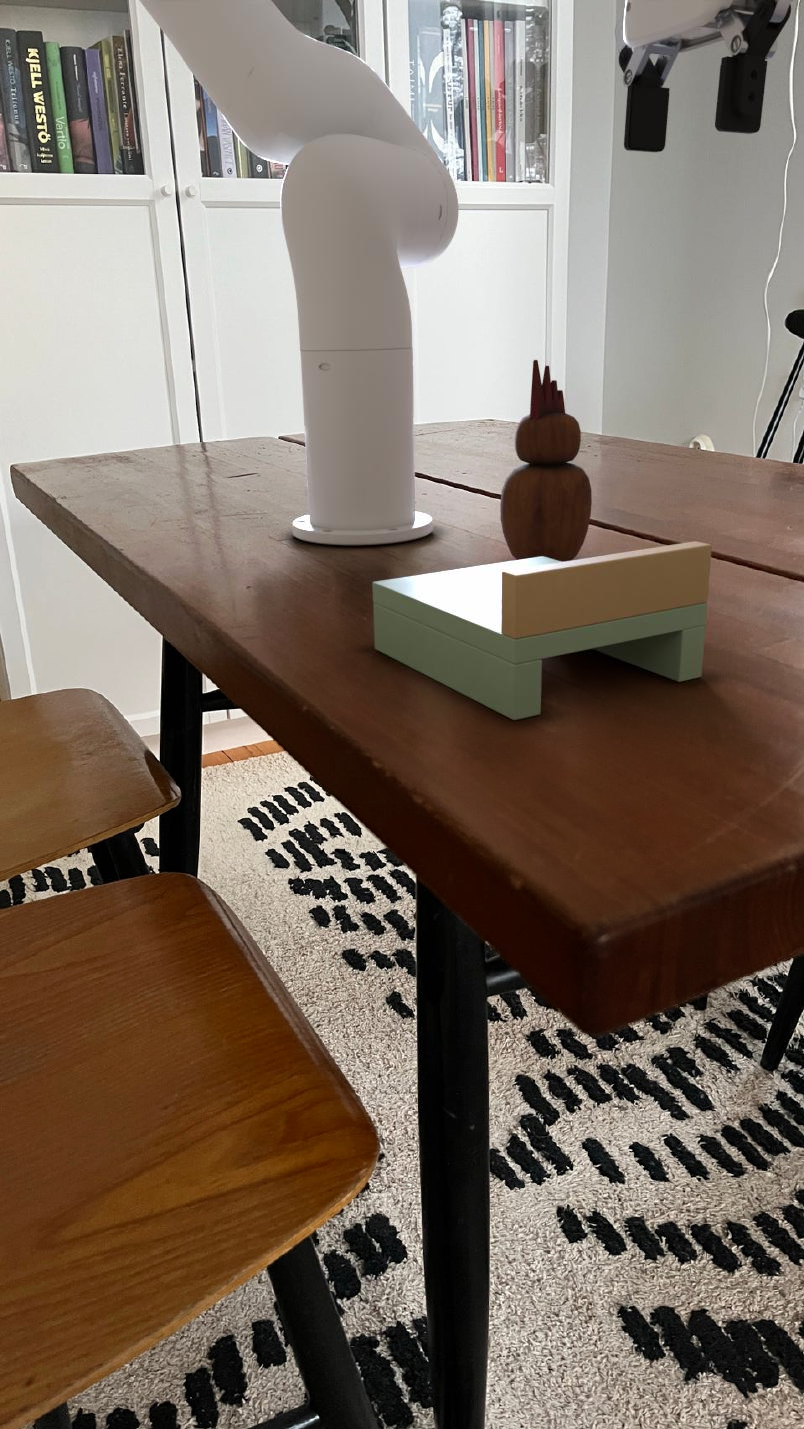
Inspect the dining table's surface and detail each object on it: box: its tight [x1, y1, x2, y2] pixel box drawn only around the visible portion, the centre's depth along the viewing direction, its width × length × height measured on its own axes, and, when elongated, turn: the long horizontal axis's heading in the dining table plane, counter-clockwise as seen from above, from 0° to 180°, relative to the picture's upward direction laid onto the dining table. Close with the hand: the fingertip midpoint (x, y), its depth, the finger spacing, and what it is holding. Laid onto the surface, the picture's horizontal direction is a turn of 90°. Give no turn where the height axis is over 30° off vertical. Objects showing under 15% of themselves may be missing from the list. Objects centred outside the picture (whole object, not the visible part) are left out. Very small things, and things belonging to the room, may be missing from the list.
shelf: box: [371, 540, 713, 721], centre depth 57 cm, size 14×12×7 cm
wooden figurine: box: [499, 359, 593, 562], centre depth 79 cm, size 7×6×15 cm
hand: (688, 142), depth 71 cm, fingers open, 9 cm apart
